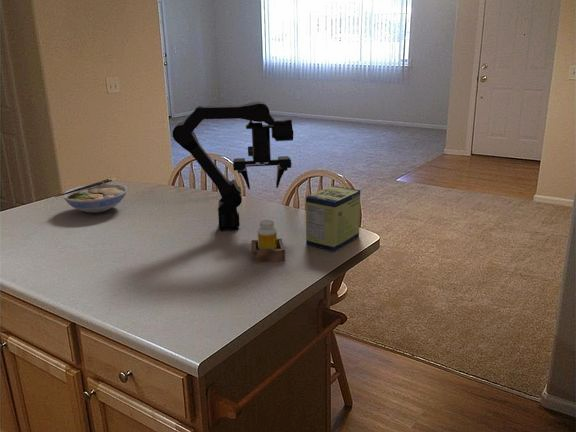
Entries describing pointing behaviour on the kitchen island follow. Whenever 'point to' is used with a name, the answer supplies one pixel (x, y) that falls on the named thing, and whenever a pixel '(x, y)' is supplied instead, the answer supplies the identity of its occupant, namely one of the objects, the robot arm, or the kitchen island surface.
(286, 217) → the kitchen island surface
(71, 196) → the ramen bowl
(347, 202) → the protein box
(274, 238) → the supplement bottle
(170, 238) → the kitchen island surface
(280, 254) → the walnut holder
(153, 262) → the kitchen island surface
